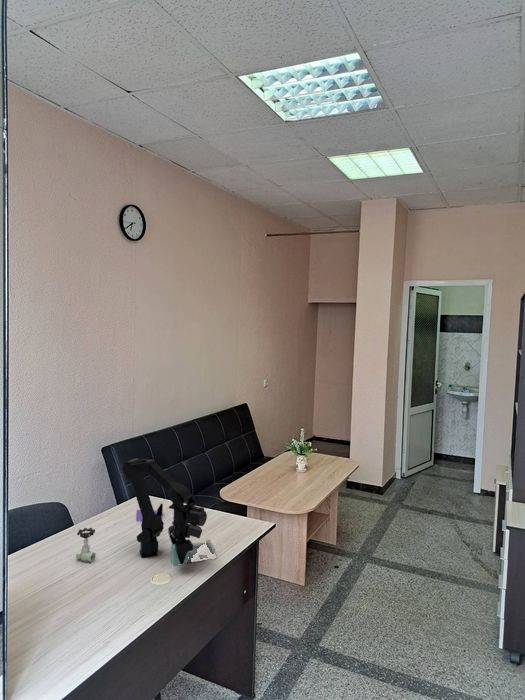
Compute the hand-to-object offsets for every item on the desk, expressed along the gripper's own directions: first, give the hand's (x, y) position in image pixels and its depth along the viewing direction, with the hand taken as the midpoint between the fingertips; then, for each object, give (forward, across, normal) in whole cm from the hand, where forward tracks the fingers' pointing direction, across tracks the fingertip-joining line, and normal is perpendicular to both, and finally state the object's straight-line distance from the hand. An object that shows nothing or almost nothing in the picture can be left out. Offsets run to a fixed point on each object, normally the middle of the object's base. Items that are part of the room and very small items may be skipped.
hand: (179, 559), depth 187 cm
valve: (+2, +13, +34) cm, 37 cm away
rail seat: (+2, +5, -10) cm, 11 cm away
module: (+2, 0, 0) cm, 2 cm away
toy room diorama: (+2, +45, +5) cm, 45 cm away
